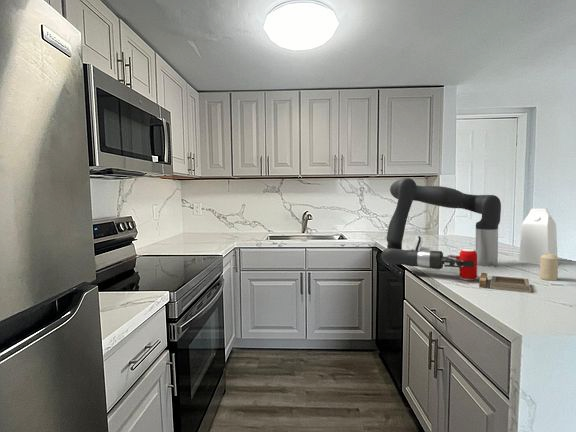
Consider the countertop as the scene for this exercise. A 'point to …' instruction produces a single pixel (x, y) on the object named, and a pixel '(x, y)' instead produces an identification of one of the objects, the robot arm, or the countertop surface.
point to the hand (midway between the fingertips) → (474, 262)
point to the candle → (549, 267)
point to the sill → (483, 280)
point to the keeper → (510, 284)
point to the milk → (537, 236)
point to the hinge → (415, 243)
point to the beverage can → (468, 272)
